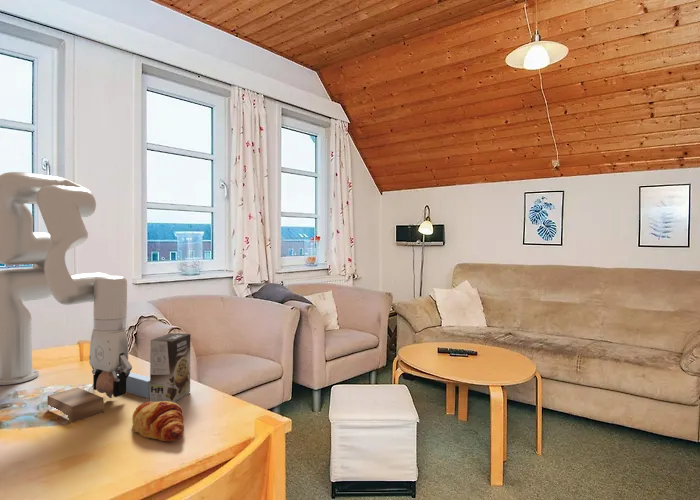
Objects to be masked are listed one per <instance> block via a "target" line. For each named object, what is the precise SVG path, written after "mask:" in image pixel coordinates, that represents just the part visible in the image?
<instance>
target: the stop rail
mask: <svg viewBox="0 0 700 500" xmlns="http://www.w3.org/2000/svg"><path fill="white" fill-rule="evenodd" d="M126 393H130V394H133V395H137V396H139V397H142V398H147V399H150V376H146V375H142V374H138V373H135V372H131V371H130V374H129V376H128V379H126Z"/></svg>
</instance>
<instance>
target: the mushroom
mask: <svg viewBox="0 0 700 500" xmlns="http://www.w3.org/2000/svg"><path fill="white" fill-rule="evenodd" d="M117 368H119V367H117ZM120 373H121V371H118V375H119V374H120ZM113 381H115V378H114V375H113V372H105V371H102V372H101V374H100V375H99V377H98V379H97V382H96V389H97V390H96V391H97V392H98V393H100V394H104V393H105V395H106V397H108V399H112V398H113Z"/></svg>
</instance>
